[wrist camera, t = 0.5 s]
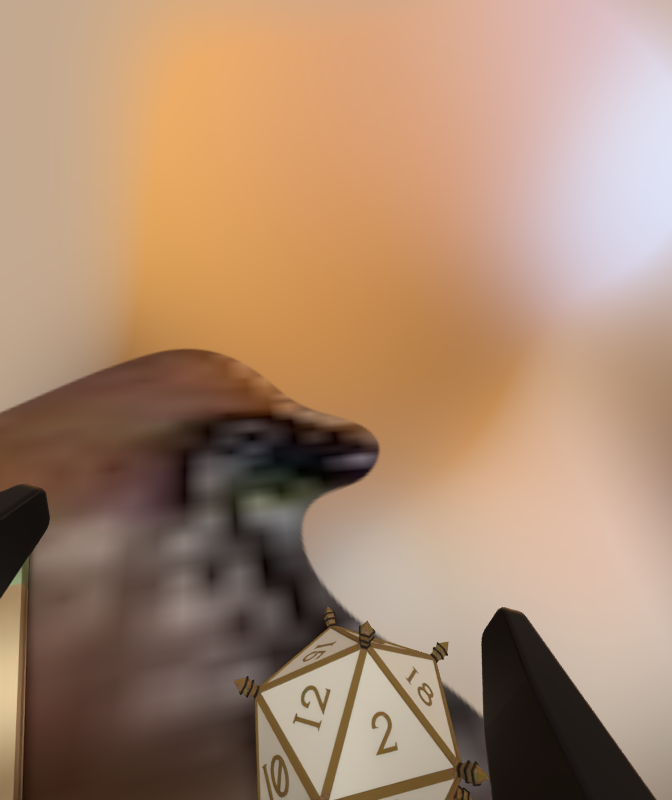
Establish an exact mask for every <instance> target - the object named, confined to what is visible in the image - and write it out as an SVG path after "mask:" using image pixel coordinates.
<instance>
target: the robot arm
mask: <svg viewBox="0 0 672 800" xmlns="http://www.w3.org/2000/svg"><path fill="white" fill-rule="evenodd" d="M49 520H50V516H49V510H48V503H47V497H46V492H45V491H44V490H43V489H42V488H39V487H35V486H31V485H27V484H20V485H16V486H14V487H11V488H9V489H6V490H4V491H1V492H0V599H1V597H2V596H3V594H4V593H5V591H6V590H7V588H8V587H9V585H10V584H11V582H12V581H13V579H14V578H15V576H16V575H17V573H18V572H19V570H20V569H21V567H22V566H23V564H24V563H25V561H26V560H27V558H28V557H29V555H30V554H31V552H32V551H33V549H34V548H35V546H36V545H37V543H38V542H39V540H40V539H41V538H42V536H43V535H44V533H45V531H46V530H47V528H48V525H49ZM481 645H482V684H483V720H484V735H485V745H486V754H487V762H488V770H489V778H490V786H491V794H492V800H656V798H655V797H654V796H653V794H652V793H651V791H650V790H649V789H648V787H647V786H646V784H645V783H644V782H643V780H642V779H641V777H640V776H639V775H638V773H637V772H636V770H635V769H634V767H633V766H632V765H631V763H630V762H629V761H628V759H627V758H626V756H625V755H624V753H623V752H622V751H621V749H620V748H619V747H618V745H617V744H616V742H615V741H614V739H613V738H612V737H611V735H610V734H609V732H608V731H607V730H606V728H605V727H604V726H603V724H602V723H601V721H600V720H599V718H598V717H597V716H596V714H595V713H594V711H593V710H592V708H591V707H590V706H589V704H588V703H587V701H586V700H585V699H584V697H583V696H582V694H581V693H580V692H579V690H578V689H577V687H576V686H575V685H574V683H573V682H572V680H571V679H570V678H569V676H568V675H567V673H566V672H565V671H564V669H563V668H562V666H561V665H560V664H559V662H558V661H557V659H556V658H555V656H554V655H553V654H552V652H551V651H550V649H549V648H548V647H547V645H546V644H545V642H544V641H543V640H542V638H541V637H540V635H539V634H538V633H537V631H536V630H535V628H534V627H533V626H532V624H531V623H530V621H529V620H528V619H527V617H526V616H525V615H524V614H523V613H522V612H519V611H517V610H512V609H509V608H505V607H502V608H500V609H498V610H497V612H496V613H495V615H494V616H493V618H492V619H491V621H490V622H489V624H488V625H487V627H486V628H485V630H484V632H483V635H482V644H481Z"/></svg>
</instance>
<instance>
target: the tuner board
mask: <svg viewBox="0 0 672 800" xmlns="http://www.w3.org/2000/svg"><path fill="white" fill-rule="evenodd" d="M28 579H29V557H28V558H27V560H26V561H25V563H24V564H23V566H22V567H21V569H20V570H19V572H18V573H17V575H16V576H15V578H14V579H13V581H12V582H11V584H10V585H9V587H8V588H7V590H6V591H5V593H4V594H3V596H2V597H1V599H0V800H22V786H23V751H24V717H25V682H26V648H27V613H28Z"/></svg>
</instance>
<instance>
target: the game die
mask: <svg viewBox="0 0 672 800" xmlns="http://www.w3.org/2000/svg"><path fill="white" fill-rule="evenodd" d="M334 616H335V613H334V612H333V611H332V610H331V609H330V608H329V607H328V606H327V609H326V612H325V614H324V616H323V618H324V619H325V621H324V623H325V624H326V625H327V626H328V629H327V630H325V631H324V632H323V633H322V634H321V635H320V636H318V637H317V638H316V639H315V640H314V641H312V642H311V643H310V644H309V645H308V646H307V647H305V648H304V649H303V650H302V651H301V652H300V653H298V654H297V655H296V656H295V657H294V658H293V659H291V660H290V661H289V662H288V663H287V664H285V665H284V666H283V667H282V668H281V669H280V670H278V671H277V672H276V673H275V674H274V675H273V676H271V677H270V678H269V679H268V680H267V681H265V682H264V683H263V684H262V685H261V686H257V685H256V684H255V683H254V680H252V681H251V680H250V679H248V678H249V677H248V676H247V677H246V678H243V679H238V680H233V681H234V682H235V684H236V686H237V688H238V689H239V693H240V695H241V694H244V695H245V696H246V697H248V696H253V697H254V701H255V733H256V765H257V797H258V800H453V799H454V800H472V798H471V796H470V792H469V791H468V790H466V789H465V788H463V789H462V788H461V787H460V786H459V783H460V781H461V778H463V779H464V780H465V782H466V783H473V786H480V785H481V783H482V782H484V781H485V780H487V779H489V777H488V776H487V775H486V774H485V773H484V771H483V770H482V769H481V768H480V767H479V765H478V763H477V762H476V761H475V763H471V762H470V761H469V760H468V761H467V763H463V764H462V762H461V758H460V754H459V750H458V746H457V742H456V738H455V734H454V730H453V726H452V722H451V718H450V714H449V710H448V706H447V702H446V698H445V694H444V690H443V686H442V682H441V678H440V674H439V670H438V666H437V662H438V661H439V660H441V659H442V660H443V659H444V658H443V657H444V656H445V655H448V654H447V650H448V642H444V643H437V646H436V647H434V648H433V652H432V654H430V655H429V654H426V653H422V652H419V651H416V650H413V649H409V648H406V647H403V646H400V645H397V644H393V643H390V642H387V641H384V640H381V639H377V638H374V636H373V634H374V633H375V630H374V629H373V628H372V627H371V626H370V624H369V623H368V621H367V622H365V623H364V624H363V625H362V626H359V633H358V632H355V631H351V630H348V629H345V628H342V627H338V626H335V622H336V618H335V617H334Z"/></svg>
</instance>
